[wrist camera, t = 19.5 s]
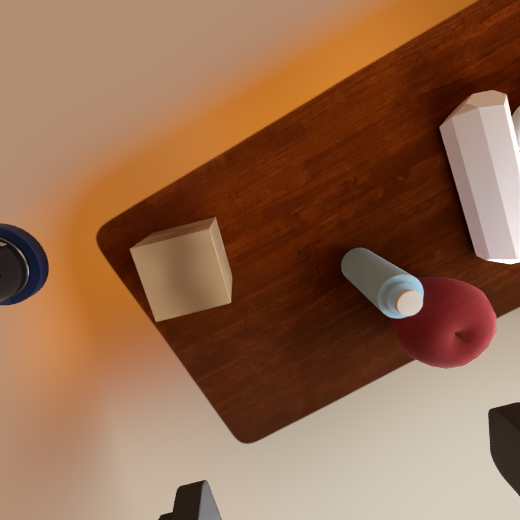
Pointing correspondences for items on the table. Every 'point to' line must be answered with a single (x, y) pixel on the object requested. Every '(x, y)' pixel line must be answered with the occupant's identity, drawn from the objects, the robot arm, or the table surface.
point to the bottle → (383, 283)
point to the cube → (184, 269)
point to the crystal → (486, 173)
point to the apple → (447, 324)
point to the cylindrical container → (517, 125)
